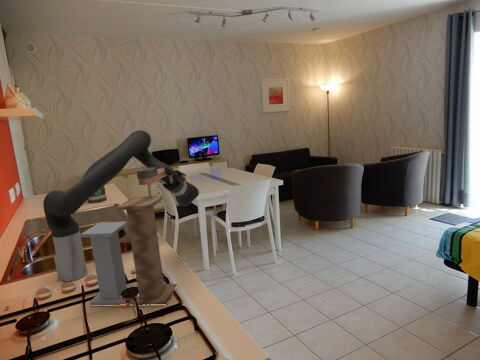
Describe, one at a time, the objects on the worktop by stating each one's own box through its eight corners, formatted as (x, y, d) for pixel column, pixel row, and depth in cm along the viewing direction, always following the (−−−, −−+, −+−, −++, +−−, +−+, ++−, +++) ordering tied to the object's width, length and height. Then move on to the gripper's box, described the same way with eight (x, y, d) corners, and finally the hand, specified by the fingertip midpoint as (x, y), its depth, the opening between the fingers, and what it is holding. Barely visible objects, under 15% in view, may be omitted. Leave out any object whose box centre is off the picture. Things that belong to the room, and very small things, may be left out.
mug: (103, 197, 266) (100, 178, 263) (109, 200, 255) (106, 180, 252) (76, 203, 254) (73, 183, 251) (81, 206, 243) (77, 185, 240)
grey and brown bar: (138, 185, 111) (136, 171, 110) (159, 173, 129) (157, 161, 128) (151, 184, 110) (150, 170, 109) (171, 173, 128) (169, 161, 127)
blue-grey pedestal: (90, 306, 109) (77, 234, 105) (107, 288, 120) (96, 222, 115) (126, 306, 108) (114, 233, 103) (140, 288, 118) (130, 221, 114)
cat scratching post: (129, 306, 108) (113, 207, 101) (143, 288, 118) (129, 197, 112) (166, 306, 106) (152, 205, 100) (177, 288, 117) (165, 195, 110)
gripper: (158, 176, 141) (141, 161, 125) (192, 174, 139) (179, 158, 123) (157, 194, 139) (139, 180, 123) (191, 192, 137) (178, 178, 121)
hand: (159, 169), depth 123 cm, fingers closed on grey and brown bar, 4 cm apart
